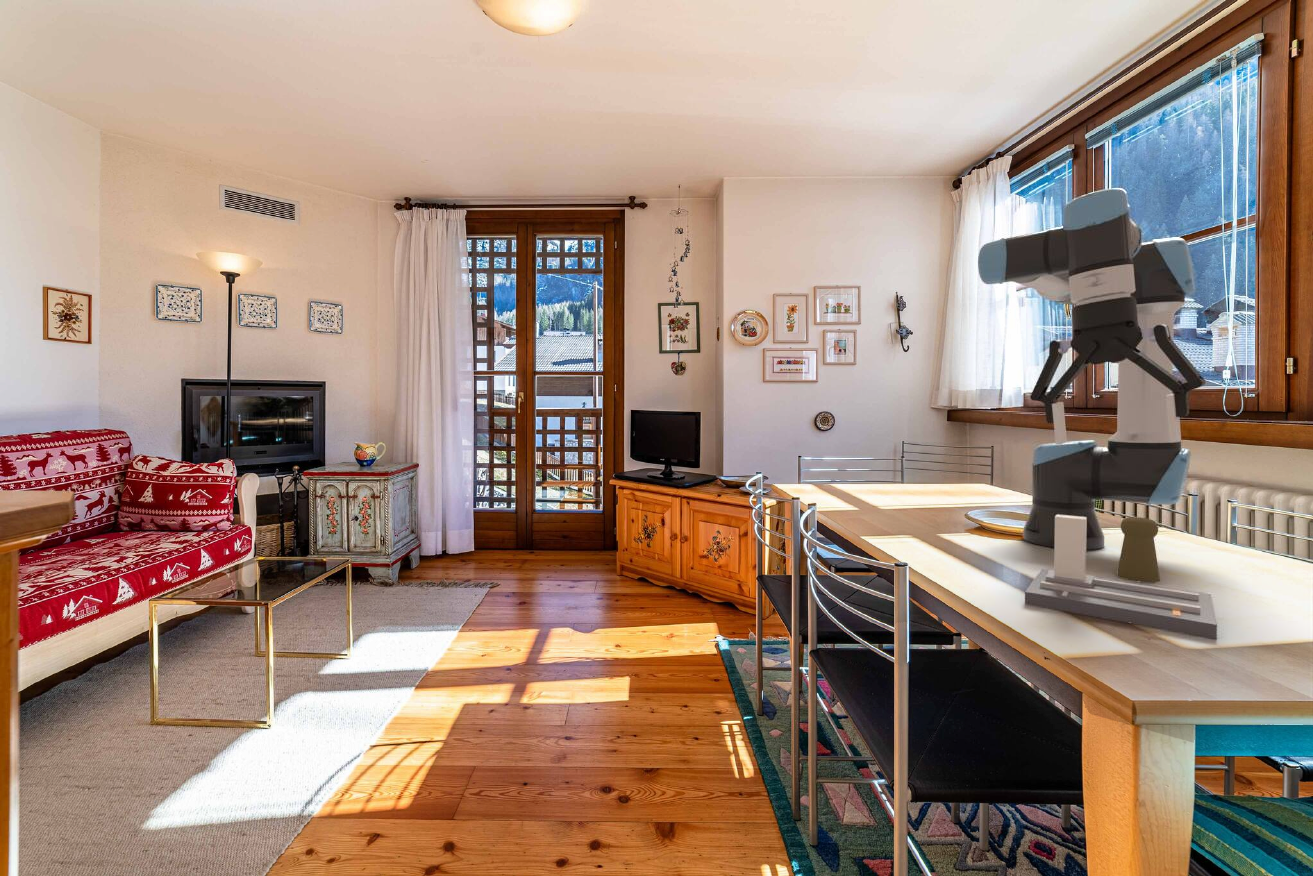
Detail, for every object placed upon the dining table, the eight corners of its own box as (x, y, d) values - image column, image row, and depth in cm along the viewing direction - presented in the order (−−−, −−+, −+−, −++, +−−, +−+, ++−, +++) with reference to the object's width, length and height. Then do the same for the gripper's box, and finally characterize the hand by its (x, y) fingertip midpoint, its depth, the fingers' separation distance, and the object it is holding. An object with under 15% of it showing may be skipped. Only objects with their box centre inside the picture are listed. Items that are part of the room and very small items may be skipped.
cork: (1168, 583, 99) (1170, 521, 98) (1129, 581, 100) (1130, 521, 99) (1146, 573, 105) (1147, 515, 104) (1109, 572, 106) (1110, 514, 105)
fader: (1050, 576, 97) (1051, 512, 96) (1094, 583, 93) (1095, 516, 92) (1045, 583, 93) (1046, 517, 93) (1090, 591, 89) (1092, 521, 89)
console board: (1041, 579, 102) (1041, 564, 102) (1210, 606, 88) (1211, 588, 87) (1024, 603, 91) (1024, 586, 91) (1216, 639, 76) (1217, 619, 76)
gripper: (1000, 318, 91) (1012, 447, 92) (1216, 277, 71) (1228, 443, 72) (1018, 317, 95) (1029, 441, 96) (1225, 279, 75) (1237, 435, 77)
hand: (1114, 442), depth 84 cm, fingers open, 13 cm apart
